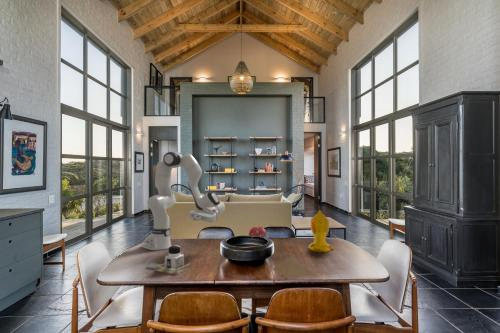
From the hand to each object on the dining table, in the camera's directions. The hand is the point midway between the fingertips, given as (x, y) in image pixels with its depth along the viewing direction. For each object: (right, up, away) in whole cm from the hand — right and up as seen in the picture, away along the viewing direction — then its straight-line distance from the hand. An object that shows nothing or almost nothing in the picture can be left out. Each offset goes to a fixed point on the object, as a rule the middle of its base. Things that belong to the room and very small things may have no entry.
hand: (194, 219), depth 186 cm
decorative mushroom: (+42, -26, +30) cm, 58 cm away
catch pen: (-7, -24, -22) cm, 34 cm away
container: (-7, -24, -22) cm, 34 cm away
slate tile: (-20, -25, -19) cm, 37 cm away
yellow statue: (+88, -26, +23) cm, 95 cm away
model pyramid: (+59, -25, -25) cm, 69 cm away
